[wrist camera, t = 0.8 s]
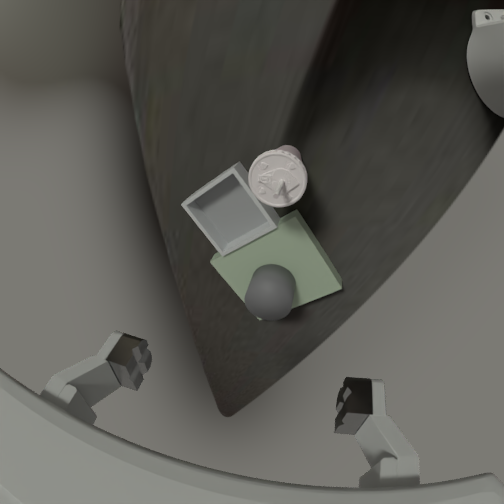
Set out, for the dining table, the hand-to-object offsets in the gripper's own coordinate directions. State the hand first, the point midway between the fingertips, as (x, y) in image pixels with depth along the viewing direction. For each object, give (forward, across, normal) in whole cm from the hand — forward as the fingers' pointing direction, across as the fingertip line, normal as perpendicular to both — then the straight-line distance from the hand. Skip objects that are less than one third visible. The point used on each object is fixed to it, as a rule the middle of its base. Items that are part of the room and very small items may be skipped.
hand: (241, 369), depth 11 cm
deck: (+34, +5, +14) cm, 37 cm away
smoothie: (+34, +2, 0) cm, 34 cm away
